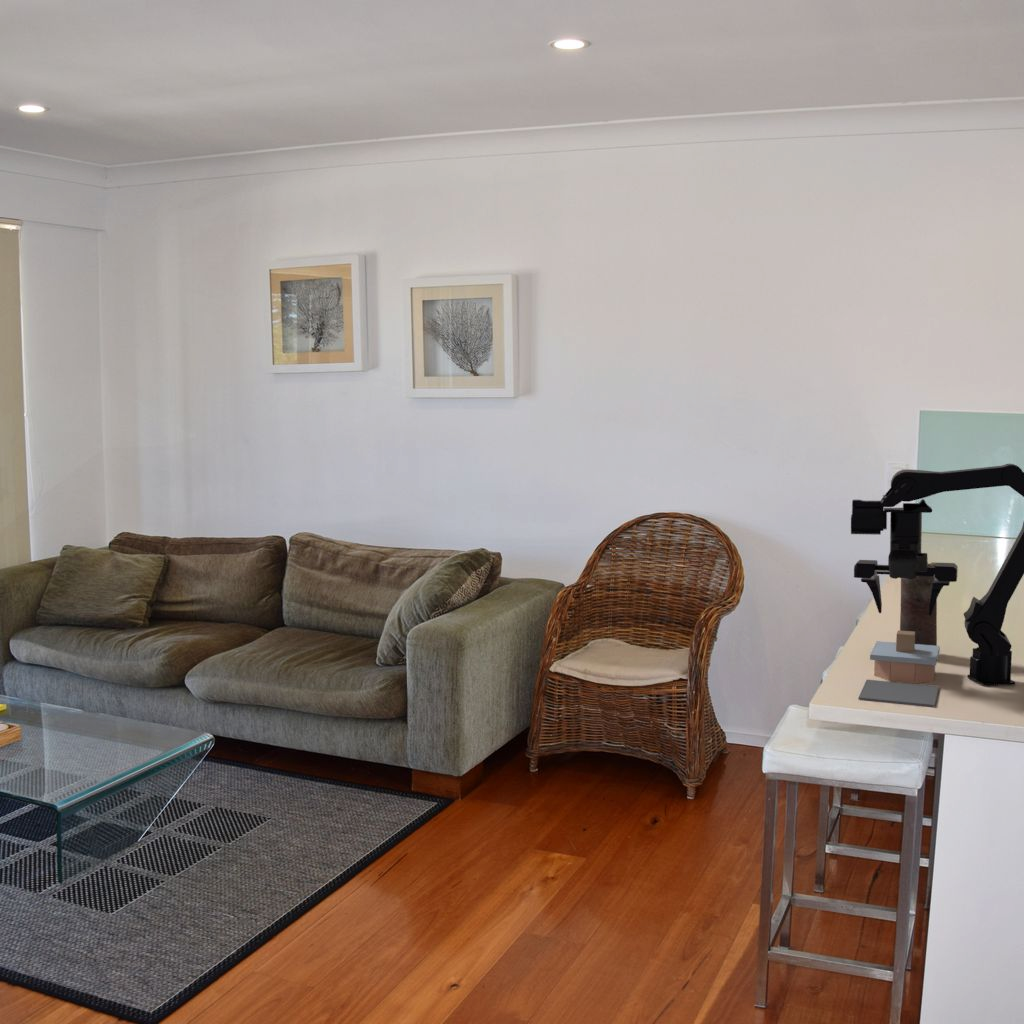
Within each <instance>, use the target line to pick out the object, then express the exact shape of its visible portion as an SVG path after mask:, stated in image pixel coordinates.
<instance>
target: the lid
mask: <svg viewBox="0 0 1024 1024" xmlns="http://www.w3.org/2000/svg"><path fill="white" fill-rule="evenodd" d="M895 641H896V642H894V641H881V640H876V641H875V643H874V646H873V647H872V650H871V652H870V654H869V660H872V661H875V660H880V661H892V662H903V663H915V664H927V665H935V666H937V663H938V660H939V659H938V658H939V653H940V651H941V650H940V647H941V646H939V645H937V646H934V645H921V644H915V632H913V631H900V629H899V630H897V633H896V639H895Z"/></svg>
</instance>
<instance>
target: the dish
mask: <svg viewBox="0 0 1024 1024" xmlns="http://www.w3.org/2000/svg"><path fill="white" fill-rule="evenodd" d="M873 671H874V676H876V677H878V678H880V679H884V680H885V681H888V682H899V683H910V684H921V683H927V681H928V682H932V681H933V682H934V680H935V677H936V665H927V664H915V663H903V662H892V661H880V660H874V669H873Z"/></svg>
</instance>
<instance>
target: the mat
mask: <svg viewBox="0 0 1024 1024" xmlns="http://www.w3.org/2000/svg"><path fill="white" fill-rule="evenodd" d="M938 691H939V685H930V684H921V683H907V682H896V681H889V680H875V679H866V680H865V683H864V685H863V687H862V689H861V691H860V693H859V695H858V700H859V699H860V701H870V702H879V703H880V702H881V703H891V704H900V705H909V706H919V707H920V706H921V707H931V708H935V706H936V701H937V698H938Z"/></svg>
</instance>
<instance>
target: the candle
mask: <svg viewBox="0 0 1024 1024" xmlns="http://www.w3.org/2000/svg"><path fill="white" fill-rule="evenodd" d="M936 563H937V562H930V563H928V566H927V567H935V564H936ZM933 580H934V576H916V578H914V579H907V578H900V613H899V614H900V617H899V618H900V619H899V620H900V621H899V631H913V632H915V644H921V645H934V646H938V642H937V641H938V638H937V637H938V635H937V634H938V633H937V631H938V630H937V629H938V626H937V625H938V624H937V623H938V622H937V621H938V620H937V616H938V615H937V614H938V612H937V611H938V610H937V609H938V607H937V606H938V599H937V600H936V603H935V606H934V608H933V611H932V614H931V616H929V604H930V598H931V592H932V585H933Z"/></svg>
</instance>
